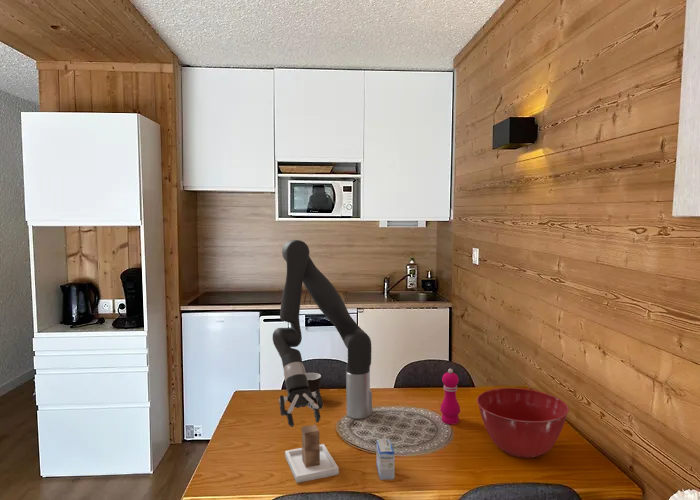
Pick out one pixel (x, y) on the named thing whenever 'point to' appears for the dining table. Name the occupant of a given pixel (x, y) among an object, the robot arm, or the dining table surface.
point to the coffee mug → (313, 382)
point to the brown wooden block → (310, 446)
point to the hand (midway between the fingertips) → (305, 423)
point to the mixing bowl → (522, 420)
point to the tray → (311, 473)
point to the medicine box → (385, 459)
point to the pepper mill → (450, 398)
